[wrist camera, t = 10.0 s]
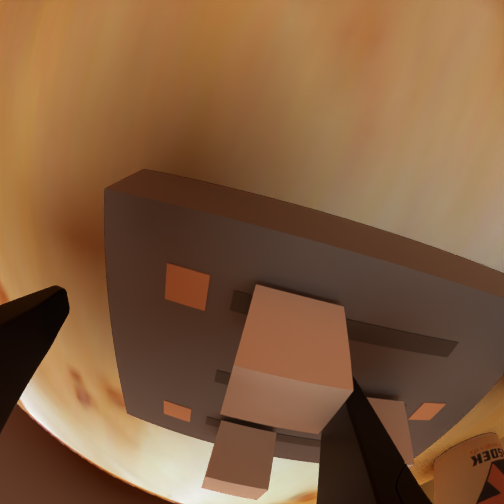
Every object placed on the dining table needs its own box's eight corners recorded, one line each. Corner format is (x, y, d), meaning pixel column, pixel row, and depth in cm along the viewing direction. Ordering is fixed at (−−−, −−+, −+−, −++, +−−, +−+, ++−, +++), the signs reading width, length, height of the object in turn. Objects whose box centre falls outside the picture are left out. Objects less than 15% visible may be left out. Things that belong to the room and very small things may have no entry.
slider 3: (403, 401, 12) (414, 464, 8) (379, 426, 13) (384, 484, 10) (348, 394, 12) (350, 464, 9) (327, 421, 13) (325, 483, 10)
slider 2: (343, 306, 10) (353, 390, 7) (319, 354, 11) (318, 434, 8) (256, 284, 10) (233, 364, 7) (242, 336, 11) (220, 414, 8)
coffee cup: (517, 424, 17) (540, 513, 7) (465, 466, 22) (476, 545, 11) (465, 430, 18) (484, 543, 7) (409, 473, 22) (413, 565, 12)
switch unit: (522, 280, 11) (548, 313, 9) (399, 435, 18) (403, 467, 16) (143, 169, 12) (103, 189, 9) (143, 382, 19) (126, 414, 17)
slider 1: (276, 432, 14) (268, 489, 11) (265, 449, 15) (256, 499, 12) (221, 420, 14) (205, 476, 11) (216, 437, 15) (201, 487, 12)
